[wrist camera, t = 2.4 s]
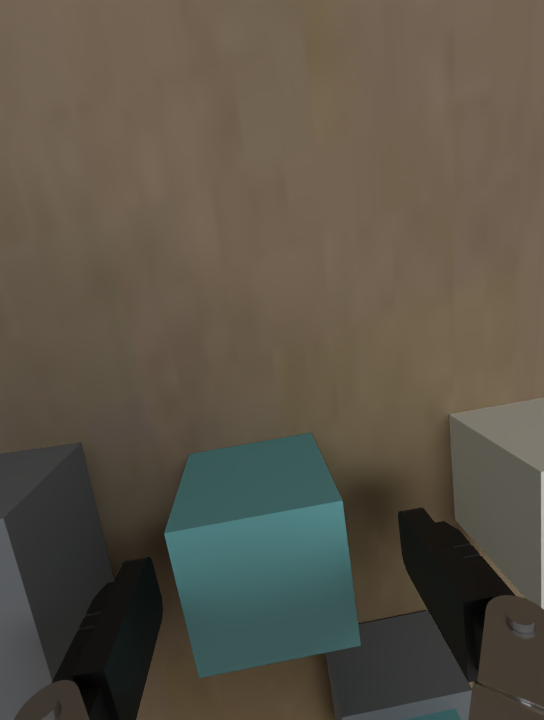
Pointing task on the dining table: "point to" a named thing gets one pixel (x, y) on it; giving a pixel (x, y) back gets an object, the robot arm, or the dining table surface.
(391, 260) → the dining table surface
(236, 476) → the teal block
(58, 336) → the dining table surface
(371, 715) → the stack
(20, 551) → the charcoal block
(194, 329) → the dining table surface
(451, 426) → the cream block
